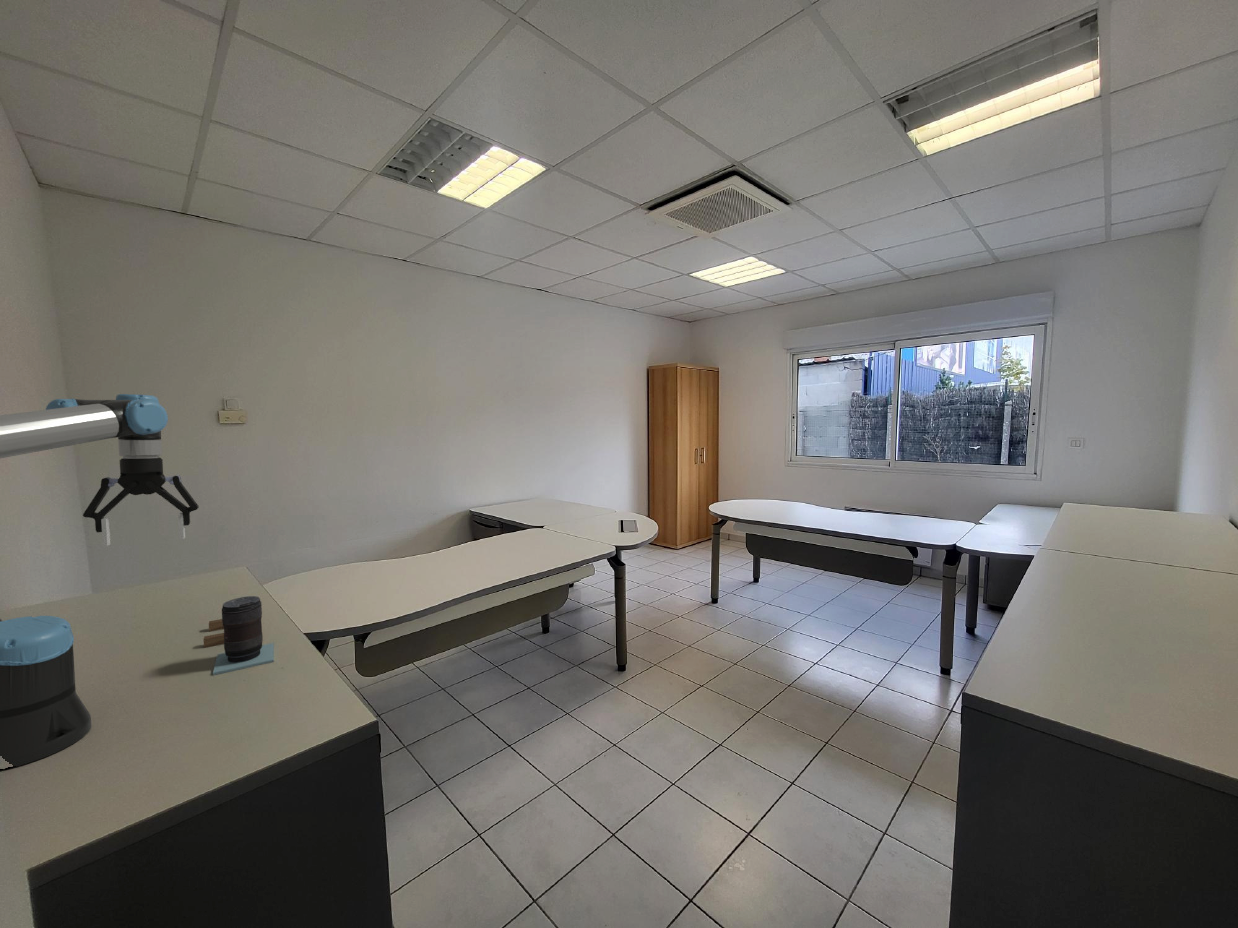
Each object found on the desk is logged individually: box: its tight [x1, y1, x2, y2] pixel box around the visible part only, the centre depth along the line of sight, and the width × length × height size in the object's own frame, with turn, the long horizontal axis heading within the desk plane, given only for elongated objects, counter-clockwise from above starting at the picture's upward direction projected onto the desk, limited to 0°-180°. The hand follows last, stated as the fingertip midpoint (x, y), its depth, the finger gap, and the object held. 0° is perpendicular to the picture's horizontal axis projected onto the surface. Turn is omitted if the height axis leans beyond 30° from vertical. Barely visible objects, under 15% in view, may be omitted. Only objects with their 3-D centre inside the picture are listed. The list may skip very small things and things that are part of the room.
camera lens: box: [221, 595, 264, 663], centre depth 123 cm, size 8×8×15 cm
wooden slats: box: [203, 618, 224, 649], centre depth 139 cm, size 15×11×4 cm
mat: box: [212, 642, 275, 676], centre depth 124 cm, size 12×12×1 cm
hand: (145, 541), depth 118 cm, fingers open, 13 cm apart
